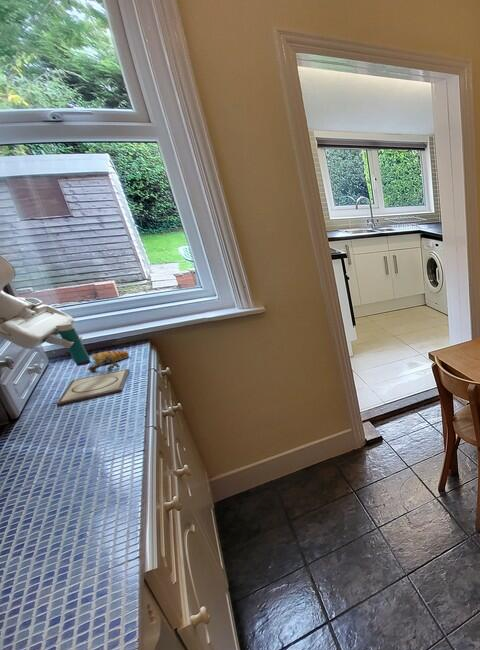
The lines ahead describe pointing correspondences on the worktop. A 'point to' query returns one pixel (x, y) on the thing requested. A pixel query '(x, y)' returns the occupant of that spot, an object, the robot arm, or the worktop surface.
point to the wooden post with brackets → (104, 363)
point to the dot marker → (77, 349)
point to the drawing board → (94, 387)
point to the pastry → (115, 354)
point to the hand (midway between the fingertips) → (76, 342)
